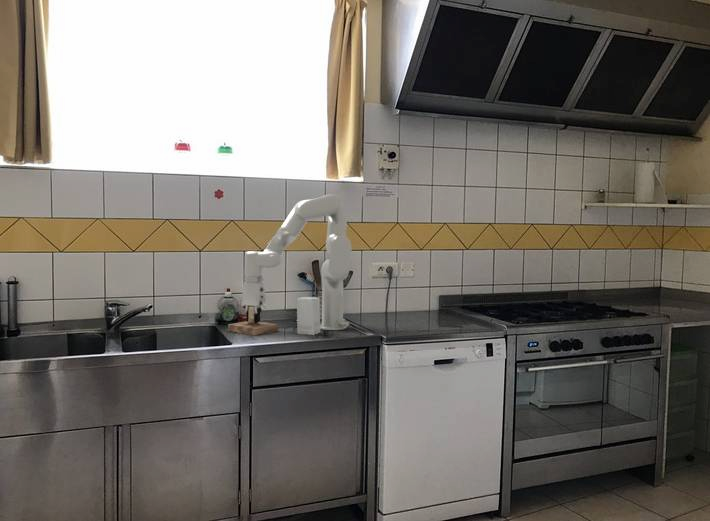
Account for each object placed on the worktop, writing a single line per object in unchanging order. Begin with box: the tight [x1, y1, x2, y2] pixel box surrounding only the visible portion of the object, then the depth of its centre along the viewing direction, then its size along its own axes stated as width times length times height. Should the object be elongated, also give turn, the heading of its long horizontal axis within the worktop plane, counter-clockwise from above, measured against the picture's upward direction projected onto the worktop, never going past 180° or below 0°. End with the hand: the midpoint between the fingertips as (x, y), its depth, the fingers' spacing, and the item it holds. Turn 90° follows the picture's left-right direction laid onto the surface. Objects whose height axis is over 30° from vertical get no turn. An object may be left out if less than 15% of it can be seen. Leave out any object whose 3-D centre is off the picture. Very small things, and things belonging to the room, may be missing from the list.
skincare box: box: [296, 296, 321, 336], centre depth 256 cm, size 8×7×16 cm
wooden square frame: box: [227, 320, 279, 336], centre depth 260 cm, size 16×14×3 cm
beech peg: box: [248, 306, 258, 326], centre depth 260 cm, size 4×4×10 cm
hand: (253, 321), depth 260 cm, fingers closed on beech peg, 3 cm apart
